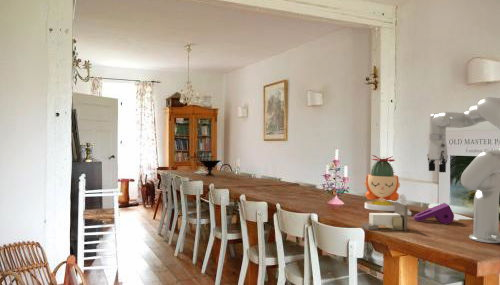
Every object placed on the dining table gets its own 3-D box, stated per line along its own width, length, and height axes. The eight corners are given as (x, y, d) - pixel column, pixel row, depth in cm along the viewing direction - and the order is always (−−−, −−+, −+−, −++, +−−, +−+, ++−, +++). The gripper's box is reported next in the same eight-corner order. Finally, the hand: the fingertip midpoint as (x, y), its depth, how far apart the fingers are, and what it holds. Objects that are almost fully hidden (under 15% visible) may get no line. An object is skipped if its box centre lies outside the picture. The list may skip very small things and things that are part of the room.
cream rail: (396, 223, 197) (396, 213, 197) (400, 225, 192) (400, 214, 192) (369, 222, 196) (369, 213, 196) (372, 225, 191) (373, 214, 191)
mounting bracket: (422, 233, 211) (456, 220, 208) (415, 218, 212) (449, 205, 208) (419, 229, 221) (451, 217, 217) (412, 215, 222) (444, 202, 218)
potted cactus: (400, 211, 243) (401, 155, 243) (363, 209, 250) (364, 154, 250) (398, 206, 263) (399, 155, 264) (364, 204, 270) (364, 154, 270)
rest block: (378, 229, 190) (378, 225, 190) (368, 229, 189) (368, 225, 189) (372, 226, 198) (372, 222, 198) (362, 226, 197) (362, 222, 197)
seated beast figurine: (412, 215, 230) (412, 195, 230) (396, 214, 232) (396, 194, 233) (409, 213, 239) (410, 193, 239) (395, 212, 242) (395, 192, 242)
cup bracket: (407, 230, 189) (407, 205, 189) (393, 230, 189) (394, 205, 189) (397, 225, 200) (397, 202, 200) (384, 225, 200) (384, 202, 200)
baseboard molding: (454, 221, 217) (474, 221, 218) (454, 216, 217) (474, 216, 218) (423, 211, 248) (441, 212, 249) (424, 207, 248) (441, 207, 249)
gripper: (454, 137, 190) (454, 173, 190) (435, 138, 207) (434, 170, 207) (439, 137, 189) (439, 172, 189) (421, 138, 207) (421, 170, 206)
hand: (436, 171), depth 198 cm, fingers open, 9 cm apart
